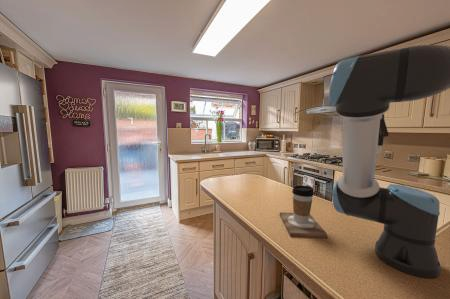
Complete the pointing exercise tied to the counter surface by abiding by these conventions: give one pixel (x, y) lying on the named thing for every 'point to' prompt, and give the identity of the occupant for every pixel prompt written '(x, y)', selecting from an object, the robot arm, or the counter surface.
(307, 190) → the coffee cup
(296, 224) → the board
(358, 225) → the counter surface
